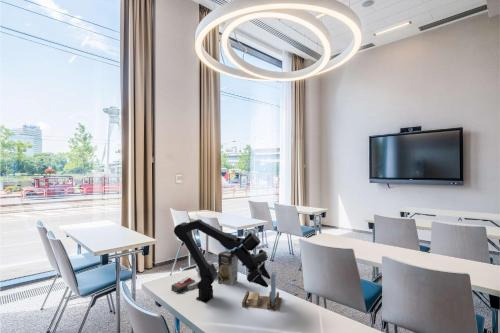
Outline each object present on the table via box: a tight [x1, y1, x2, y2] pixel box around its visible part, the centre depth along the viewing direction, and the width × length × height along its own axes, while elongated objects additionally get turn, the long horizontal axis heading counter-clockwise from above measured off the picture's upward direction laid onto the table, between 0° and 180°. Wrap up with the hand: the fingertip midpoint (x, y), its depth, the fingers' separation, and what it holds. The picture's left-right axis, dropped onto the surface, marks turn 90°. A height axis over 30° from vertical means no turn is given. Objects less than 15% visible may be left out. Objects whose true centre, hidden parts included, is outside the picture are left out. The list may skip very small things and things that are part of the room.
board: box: [270, 269, 277, 306], centre depth 126 cm, size 2×6×14 cm, turn 170°
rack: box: [241, 290, 283, 312], centre depth 127 cm, size 17×12×3 cm
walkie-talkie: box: [171, 276, 200, 294], centre depth 146 cm, size 9×4×20 cm
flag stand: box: [195, 222, 218, 278], centre depth 162 cm, size 13×13×30 cm
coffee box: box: [217, 250, 239, 286], centre depth 149 cm, size 9×6×16 cm
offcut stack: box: [246, 291, 260, 306], centre depth 128 cm, size 5×8×2 cm, turn 170°
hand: (268, 282), depth 126 cm, fingers open, 9 cm apart
